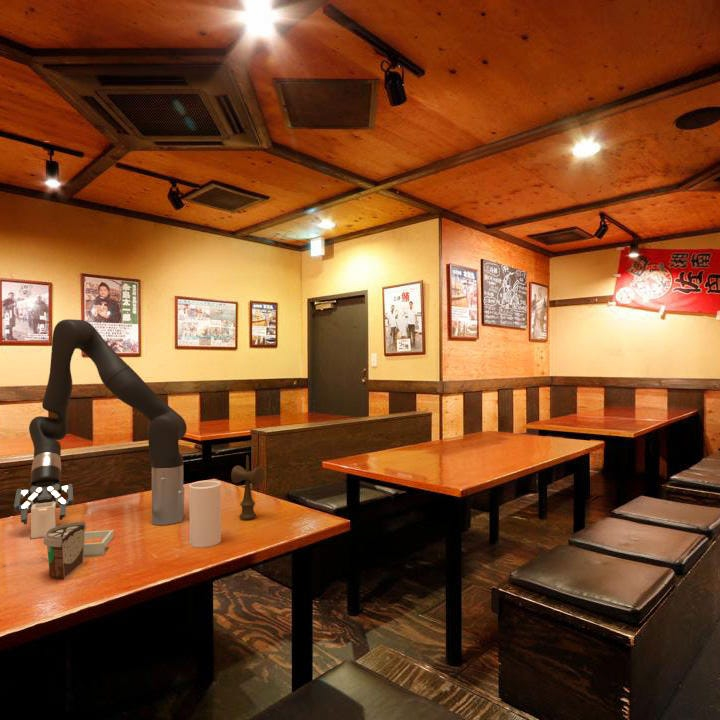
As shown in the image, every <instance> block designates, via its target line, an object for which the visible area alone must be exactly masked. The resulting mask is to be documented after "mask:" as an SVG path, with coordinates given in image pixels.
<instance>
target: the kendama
mask: <svg viewBox="0 0 720 720" xmlns="http://www.w3.org/2000/svg"><path fill="white" fill-rule="evenodd" d="M245 459H246V460H245V468H244V467H243V466H241V465H235V466H233V468H232V469H231V473H230V478H231V481H232V483H234V484H236V483H240V482H242V481H244V482H245V483H244V493H243V498H242V500H241V502H240V506H241V513H240V514H239V515H238V517H239V519H240V520H243V521H244V520H248V521H249V520H253V519H255V518H256V517H257V514H256V512H255V510H254V507H255V505H256V502H255V501H254V499H253V496H252V489H251V484H252V485H253V486H255V487H261V486H262V484H263V483H264V480H265V469H264V467H262V466H258V467H256V468H254V469H253V470H250V457H249V455H248V454H247V455H246V458H245Z"/></svg>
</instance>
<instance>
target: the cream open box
mask: <svg viewBox="0 0 720 720" xmlns="http://www.w3.org/2000/svg"><path fill="white" fill-rule="evenodd" d="M56 526H57V504H56V502H54V501H52V502H48V503H39V504H38V503H36V504H33V505H32V507H31V508H30V538H31V540H33V539H32V538H38V539H40V538H39V537H45V535H46V533H47V531H48V530H50V529H51V528H54V527H56Z"/></svg>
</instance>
